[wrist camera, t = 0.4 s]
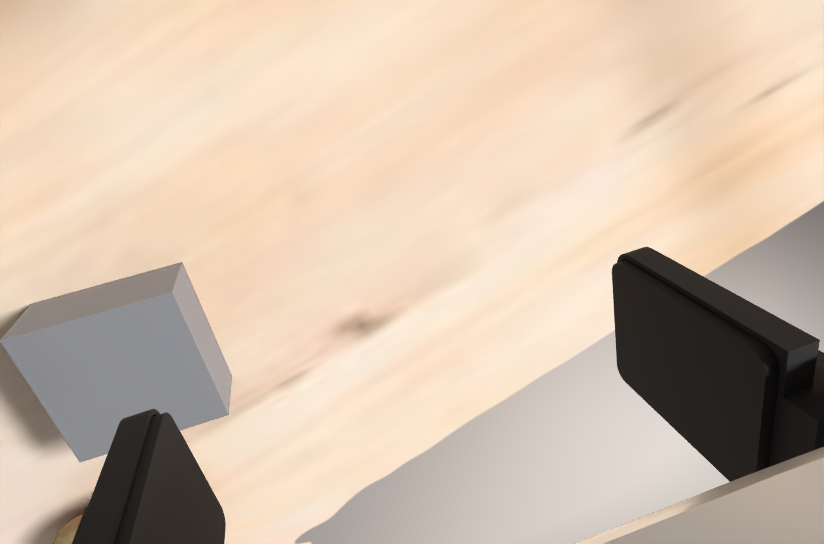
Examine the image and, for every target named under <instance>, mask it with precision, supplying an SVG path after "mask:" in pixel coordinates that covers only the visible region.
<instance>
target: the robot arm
mask: <svg viewBox="0 0 824 544" xmlns="http://www.w3.org/2000/svg"><path fill="white" fill-rule="evenodd" d="M612 281H613V299H614V317H615V334H616V352H617V353H616V354H617V366H618V370H619V373H620V375H621V377H622V378H623V380H624V381H625V382H626V383H627V384H628V385H629V386H630V387H631V388H632V389H633V390H634V391H635V392H637V394H639V395H640V396H641V397H642V398H643V399H644V400H645V401H646V402H647V403H648V404H649V405H650V406H651V407H652V408H653V409H654V410H655V411H657V413H658V414H660V415H661V416H662V417H663V418H664V419H665V420H666V421H667V422H668V423H669V424H670V425H671V426H672V427H673V428H674V429H675V430H676V431H677V432H678V433H679V434H681V435H682V436H683V437H684V438H685V439H686V440H687V441H688V442H689V443H690V444H691V445H692V446H693V447H694V448H695V449H696V450H697V451H698V452H699V453H700V454H702V455H703V456H704V457H705V458H706V459H707V460H708V461H709V462H710V463H711V464H712V465H713V466H714V467H715V468H716V469H717V470H718V471H719V472H720V473H721V474H722V475H724V476H725V477H726V478H727V479H728V480H729V481H730V482H729V483H727V484H724V485H721V486H719V487H716V488H714V489H711V490H709V491H706V492H704V493H701V494H699V495H696V496H694V497H691V498H689V499H686V500H684V501H681V502H679V503H676V504H674V505H671V506H668V507H666V508H664V509H661V510H658V511H656V512H653V513H651V514H648V515H646V516H644V517H641V518H638V519H636V520H633V521H631V522H628V523H626V524H623V525H621V526H618V527H615V528H613V529H610V530H608V531H605V532H603V533H600V534H598V535H595V536H593V537H590V538H588V539H585V540H583V541H580V542H578V543H576V544H824V353H823V352H821V351H819V350H818V348H819V341H820V340H819V339H817V338H815V337H813V336H811V335H809V334H808V333H806V332H804V331H802V330H800V329H798V328H797V327H795V326H793V325H791V324H789V323H787V322H786V321H784V320H782V319H780V318H778V317H776V316H775V315H773V314H771V313H769V312H767V311H765V310H764V309H762V308H760V307H758V306H756V305H754V304H752V303H751V302H749V301H747V300H745V299H743V298H742V297H740V296H738V295H736V294H734V293H732V292H731V291H729V290H727V289H725V288H723V287H721V286H719V285H718V284H716V283H714V282H712V281H710V280H708V279H707V278H705V277H703V276H701V275H699V274H697V273H696V272H694V271H692V270H690V269H688V268H686V267H685V266H683V265H681V264H679V263H677V262H675V261H674V260H672V259H670V258H668V257H666V256H664V255H663V254H661V253H659V252H657V251H655V250H653V249H652V248H649V247H643V248H640V249H637V250H634V251H631V252H628V253H625V254H622V255H620V256H619V258H618V261H617V263H616V264H614V265H613V268H612ZM224 539H225V517H224V513H223V510H222V507H221V505H220V504H219V502H218V500H217V498H216V496H215V494H214V493H213V491H212V489H211V487H210V485H209V483H208V482H207V480H206V478H205V476H204V474H203V473H202V471H201V469H200V467H199V465H198V463H197V462H196V460H195V458H194V456H193V454H192V452H191V451H190V449H189V447H188V445H187V443H186V441H185V440H184V438H183V436H182V434H181V432H180V431H179V429H178V427H177V425H176V423H175V421H174V420H173V418H172V416H171V415H170V414H169V413H167V412H166V413H163V414H160V413H159V411H157V410H156V409H150V410H147V411H144V412H141V413H138V414H135V415H132V416H129V417H126V418H124V419H122V420H121V421H120V423H119V425H118V428H117V431H116V433H115V436H114V439H113V441H112V444H111V447H110V449H109V452H108V455H107V457H106V460H105V463H104V465H103V468H102V471H101V473H100V476H99V479H98V481H97V484H96V487H95V490H94V492H93V495H92V498H91V500H90V503H89V506H88V507H87V508H86V510H85V512H84V514H83V515H82V518H81V521H80V523H79V526H78V529H77V531H76V534H75V536H74V539H73V542H72V544H224Z"/></svg>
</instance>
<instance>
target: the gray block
mask: <svg viewBox="0 0 824 544" xmlns="http://www.w3.org/2000/svg"><path fill="white" fill-rule="evenodd" d="M0 343H1V344H2V346H3V347H4V349H5V350H6V352H7V353H8V355H9V356H10V358H11V359H12V361H13V362H14V364H15V365H16V367H17V368H18V370H19V371H20V373H21V374H22V376H23V377H24V379H25V380H26V382H27V383H28V385H29V386H30V388H31V389H32V391H33V392H34V394H35V395H36V397H37V398H38V400H39V402H40V403H41V405H42V406H43V408H44V409H45V411H46V412H47V414H48V415H49V417H50V418H51V420H52V421H53V423H54V424H55V426H56V427H57V429H58V430H59V432H60V433H61V435H62V436H63V438H64V439H65V441H66V442H67V444H68V445H69V447H70V448H71V450H72V451H73V453H74V454H75V456H76V457H77V459H78V461H79V462H83V461H86V460H89V459H92V458H95V457H99V456H102V455H105V454H108V452H109V449H110V447H111V444H112V441H113V439H114V436H115V433H116V431H117V428H118V425H119V423H120V421H121V420H122V419H124V418H126V417H129V416H132V415H135V414H138V413H141V412H144V411H147V410H150V409H156V410H157V411H159V413H160V414H163V413H166V412H167V413H169V414H170V415H171V416H172V418H173V420H174V421H175V423H176V425H177V427H178V429H179V431H180V430H183V429H186V428H189V427H192V426H195V425H199V424H202V423H205V422H208V421H211V420H214V419H217V418H220V417H224V416H227V415H229V405H230V393H231V381H232V375H231V373H230V370H229V368H228V366H227V363H226V361H225V359H224V357H223V354H222V352H221V350H220V347H219V345H218V343H217V341H216V338H215V336H214V334H213V331H212V329H211V327H210V325H209V322H208V320H207V318H206V315H205V313H204V311H203V308H202V306H201V304H200V302H199V299H198V297H197V295H196V292H195V290H194V288H193V286H192V283H191V281H190V279H189V276H188V274H187V272H186V270H185V267H184V265H183V263H182V262H181V263H177V264H174V265H170V266H166V267H163V268H159V269H156V270H152V271H148V272H145V273H141V274H138V275H134V276H130V277H127V278H123V279H119V280H116V281H112V282H109V283H105V284H101V285H98V286H94V287H90V288H87V289H83V290H80V291H76V292H72V293H69V294H65V295H62V296H58V297H54V298H51V299H47V300H43V301H40V302H36V303H33V304H30V305H29V306H28V308H27V309H26V310H25V311H24V312H23V314H22V315H21V316H20V317H19V318H18V319H17V321H16V322H15V323H14V324H13V325H12V327H11V328H10V329H9V330H8V331H7V332H6V334H5V335H4V336H3V337H2V338H1V340H0Z"/></svg>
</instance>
